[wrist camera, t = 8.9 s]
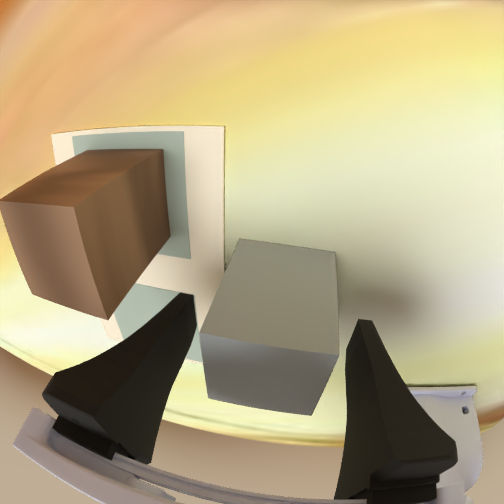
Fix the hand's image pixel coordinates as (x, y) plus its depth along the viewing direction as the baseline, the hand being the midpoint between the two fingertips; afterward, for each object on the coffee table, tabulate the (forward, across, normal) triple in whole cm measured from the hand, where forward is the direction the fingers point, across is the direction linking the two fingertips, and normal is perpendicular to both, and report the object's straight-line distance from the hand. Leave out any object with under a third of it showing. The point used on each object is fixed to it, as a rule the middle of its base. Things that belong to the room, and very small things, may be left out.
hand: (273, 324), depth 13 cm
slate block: (+3, 0, 0) cm, 3 cm away
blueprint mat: (+3, +8, +1) cm, 8 cm away
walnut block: (+3, +8, -4) cm, 9 cm away
